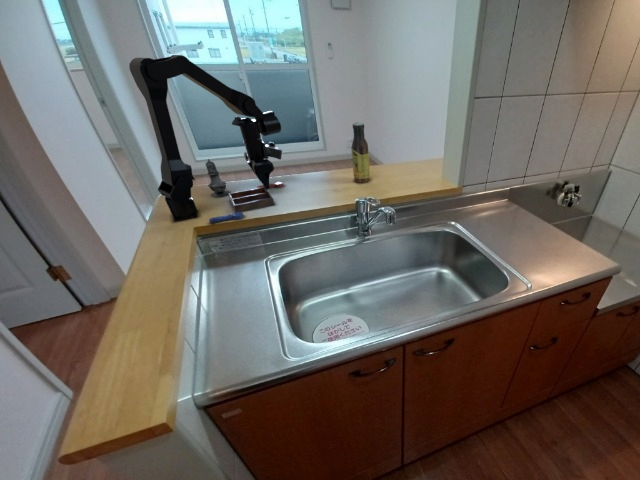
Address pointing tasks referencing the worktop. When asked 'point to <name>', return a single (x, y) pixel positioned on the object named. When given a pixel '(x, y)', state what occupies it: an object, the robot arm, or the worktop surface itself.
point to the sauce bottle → (360, 154)
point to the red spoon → (273, 185)
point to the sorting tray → (251, 199)
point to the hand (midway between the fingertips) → (264, 185)
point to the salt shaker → (216, 181)
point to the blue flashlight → (227, 217)
